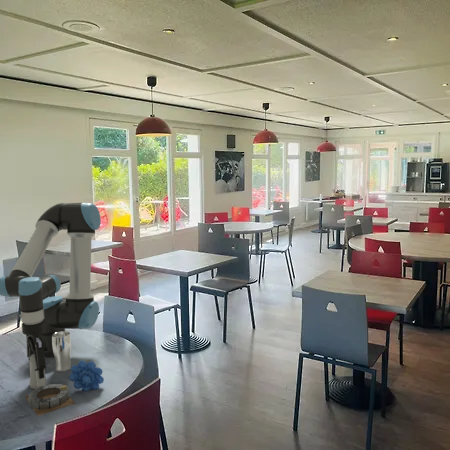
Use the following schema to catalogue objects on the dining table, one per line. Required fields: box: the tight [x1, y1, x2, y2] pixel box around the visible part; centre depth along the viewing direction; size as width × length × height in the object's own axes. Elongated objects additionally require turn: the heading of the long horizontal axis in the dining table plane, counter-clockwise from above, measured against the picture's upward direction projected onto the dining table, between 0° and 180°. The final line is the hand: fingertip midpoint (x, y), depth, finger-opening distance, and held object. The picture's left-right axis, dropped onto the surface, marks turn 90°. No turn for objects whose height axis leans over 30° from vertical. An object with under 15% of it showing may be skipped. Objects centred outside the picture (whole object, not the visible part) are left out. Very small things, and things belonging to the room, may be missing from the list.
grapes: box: [68, 359, 105, 392], centre depth 161 cm, size 12×7×12 cm, turn 106°
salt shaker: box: [29, 354, 48, 390], centre depth 165 cm, size 6×6×13 cm
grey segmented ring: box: [27, 383, 70, 410], centre depth 155 cm, size 12×12×3 cm
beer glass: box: [52, 330, 72, 372], centre depth 179 cm, size 7×7×15 cm
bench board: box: [24, 394, 76, 417], centre depth 156 cm, size 16×12×1 cm
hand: (38, 381), depth 166 cm, fingers open, 8 cm apart
